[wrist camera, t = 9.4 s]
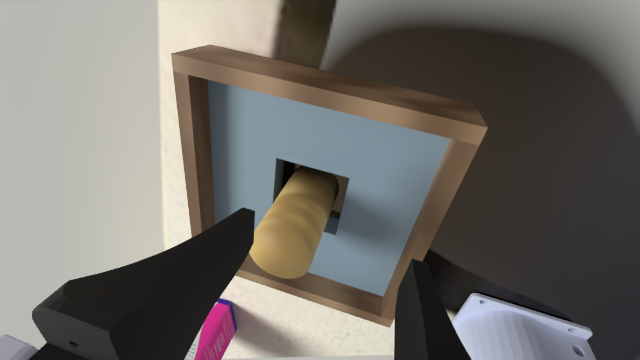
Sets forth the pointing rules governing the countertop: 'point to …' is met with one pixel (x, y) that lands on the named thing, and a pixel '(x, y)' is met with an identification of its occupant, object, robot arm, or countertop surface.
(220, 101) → the bore plate
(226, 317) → the supplement box
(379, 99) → the tray
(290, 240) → the peg
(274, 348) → the countertop surface
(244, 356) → the countertop surface
